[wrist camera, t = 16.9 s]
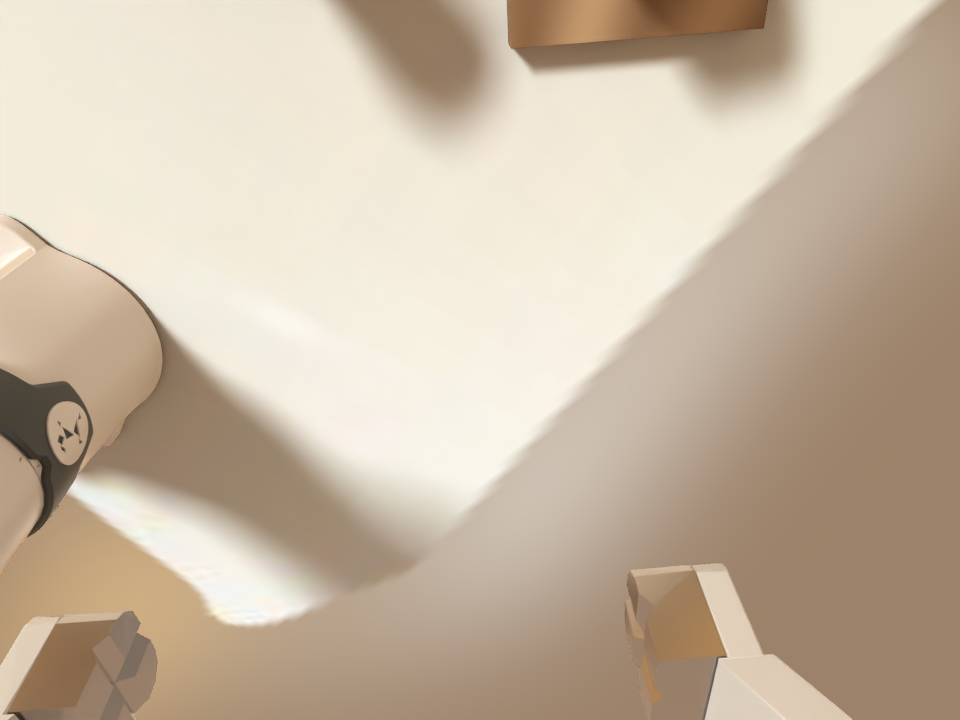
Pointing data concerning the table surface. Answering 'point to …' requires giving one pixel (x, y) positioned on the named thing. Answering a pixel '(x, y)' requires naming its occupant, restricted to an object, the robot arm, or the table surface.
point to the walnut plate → (625, 19)
